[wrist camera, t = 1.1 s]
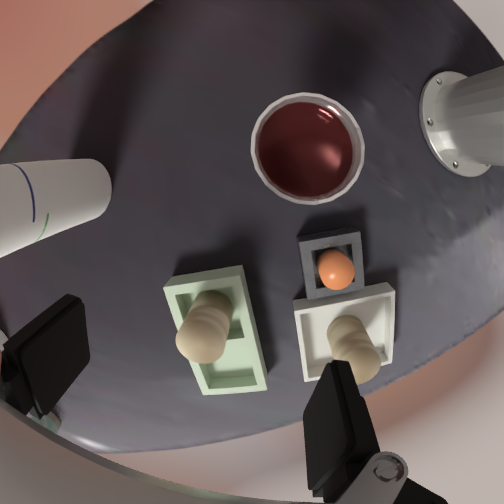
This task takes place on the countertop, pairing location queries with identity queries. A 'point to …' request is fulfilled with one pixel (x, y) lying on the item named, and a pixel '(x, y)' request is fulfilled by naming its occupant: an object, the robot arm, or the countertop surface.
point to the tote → (331, 307)
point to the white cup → (2, 340)
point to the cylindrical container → (49, 198)
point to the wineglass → (307, 148)
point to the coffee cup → (49, 422)
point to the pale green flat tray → (239, 337)
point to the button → (335, 269)
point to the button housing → (322, 241)
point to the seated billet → (206, 327)
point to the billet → (353, 347)
